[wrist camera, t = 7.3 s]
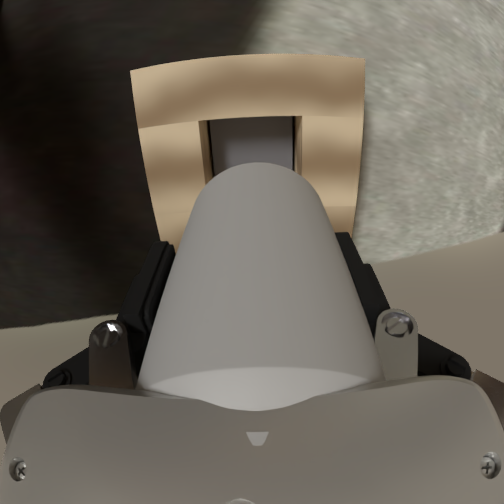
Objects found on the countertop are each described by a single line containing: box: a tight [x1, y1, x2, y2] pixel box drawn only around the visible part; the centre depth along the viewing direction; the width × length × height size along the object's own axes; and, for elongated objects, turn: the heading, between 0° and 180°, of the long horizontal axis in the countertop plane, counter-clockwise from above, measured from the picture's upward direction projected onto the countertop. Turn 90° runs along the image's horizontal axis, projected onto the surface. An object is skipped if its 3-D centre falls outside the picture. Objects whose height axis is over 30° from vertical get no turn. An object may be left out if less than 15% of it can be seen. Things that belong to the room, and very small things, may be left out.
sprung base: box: [209, 116, 292, 176], centre depth 28 cm, size 7×7×1 cm
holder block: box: [130, 54, 365, 253], centre depth 27 cm, size 18×18×7 cm
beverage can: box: [135, 162, 386, 446], centre depth 10 cm, size 6×6×12 cm
